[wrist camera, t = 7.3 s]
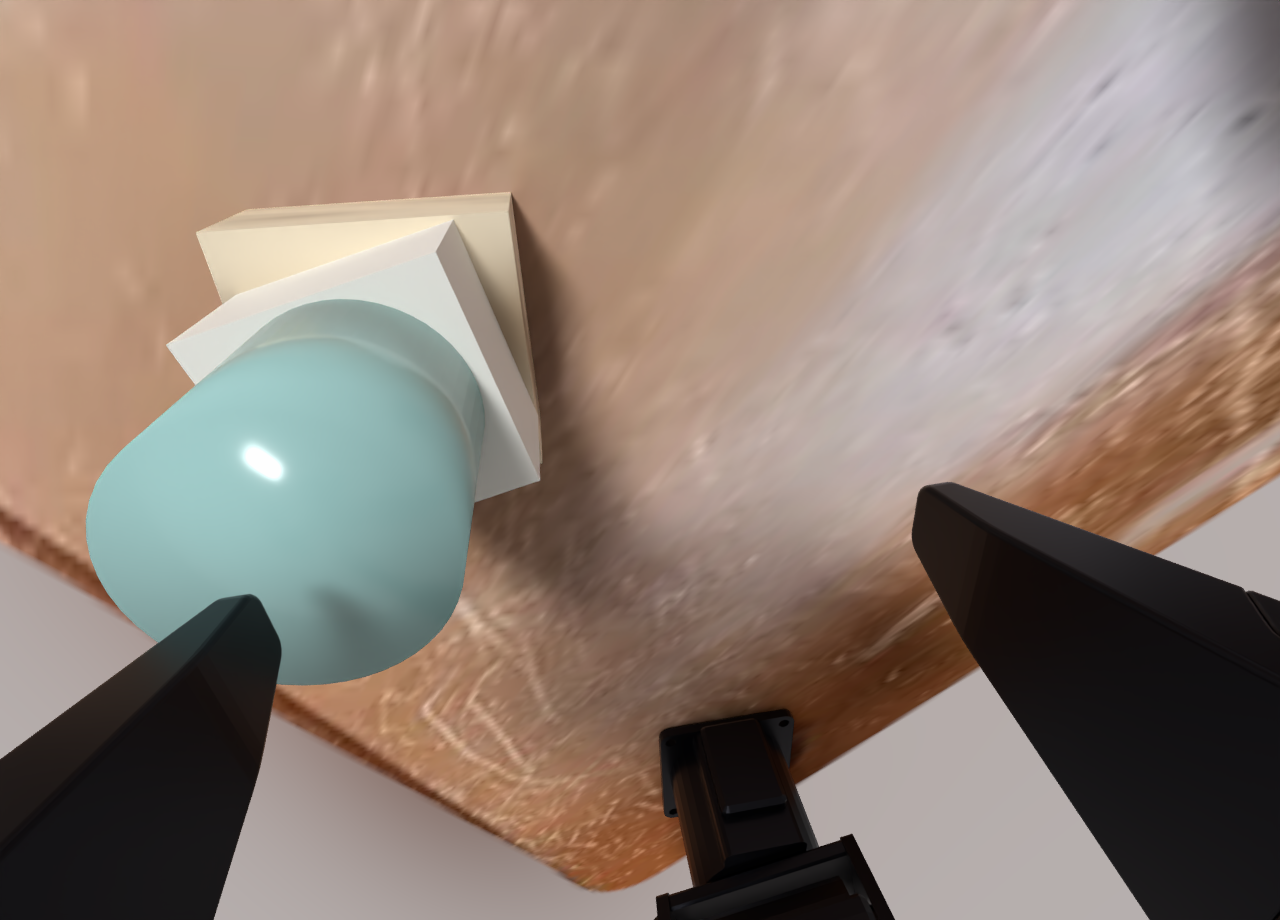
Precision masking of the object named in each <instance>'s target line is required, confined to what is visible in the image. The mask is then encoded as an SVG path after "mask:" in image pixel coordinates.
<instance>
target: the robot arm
mask: <svg viewBox="0 0 1280 920" xmlns="http://www.w3.org/2000/svg"><path fill="white" fill-rule="evenodd" d="M912 542H913V546H914V549H915V551H916V553H917V555H918V557H919V559H920V561H921V563H922V565H923V567H924V569H925V570H926V572H927V574H928V576H929V578H930V580H931V582H932V584H933V586H934V588H935V589H936V591H937V593H938V595H939V597H940V599H941V601H942V603H943V605H944V607H945V609H946V610H947V612H948V614H949V616H950V618H951V620H952V622H953V624H954V626H955V627H956V629H957V631H958V633H959V634H960V636H961V638H962V640H963V641H964V643H965V644H966V646H967V648H968V649H969V651H970V652H971V654H972V655H973V657H974V658H975V660H976V661H977V663H978V664H979V666H980V667H981V669H982V670H983V672H984V673H985V675H986V676H987V678H988V679H989V681H990V682H991V683H992V685H993V687H994V688H995V689H996V691H997V693H998V694H999V696H1000V697H1001V699H1002V700H1003V702H1004V703H1005V705H1006V706H1007V707H1008V709H1009V710H1010V712H1011V713H1012V715H1013V716H1014V718H1015V720H1016V721H1017V722H1018V724H1019V725H1020V727H1021V728H1022V730H1023V731H1024V733H1025V734H1026V736H1027V737H1028V739H1029V740H1030V742H1031V743H1032V745H1033V746H1034V748H1035V749H1036V751H1037V752H1038V754H1039V755H1040V757H1041V758H1042V760H1043V761H1044V763H1045V764H1046V766H1047V767H1048V769H1049V770H1050V772H1051V773H1052V775H1053V776H1054V778H1055V779H1056V781H1057V782H1058V784H1059V785H1060V787H1061V788H1062V790H1063V791H1064V793H1065V794H1066V796H1067V797H1068V799H1069V800H1070V802H1071V803H1072V805H1073V806H1074V808H1075V809H1076V811H1077V812H1078V814H1079V815H1080V816H1081V818H1082V819H1083V821H1084V822H1085V824H1086V825H1087V827H1088V828H1089V830H1090V831H1091V833H1092V834H1093V836H1094V837H1095V839H1096V840H1097V842H1098V843H1099V845H1100V846H1101V848H1102V849H1103V851H1104V852H1105V854H1106V855H1107V857H1108V858H1109V860H1110V861H1111V863H1112V864H1113V866H1114V867H1115V869H1116V870H1117V872H1118V873H1119V875H1120V876H1121V878H1122V879H1123V881H1124V882H1125V883H1126V885H1127V887H1128V888H1129V890H1130V891H1131V893H1132V894H1133V895H1134V897H1135V899H1136V900H1137V902H1138V903H1139V904H1140V906H1141V907H1142V909H1143V911H1144V912H1145V914H1146V915H1147V917H1148V918H1149V919H1150V920H1280V601H1278V600H1276V599H1273V598H1270V597H1267V596H1265V595H1262V594H1259V593H1256V592H1254V591H1247V592H1245V590H1244V589H1243V588H1242V587H1239V586H1237V585H1234V584H1231V583H1228V582H1226V581H1223V580H1220V579H1217V578H1214V577H1212V576H1209V575H1206V574H1204V573H1201V572H1198V571H1195V570H1192V569H1190V568H1187V567H1184V566H1181V565H1179V564H1176V563H1173V562H1171V561H1168V560H1165V559H1162V558H1160V557H1157V556H1154V555H1151V554H1149V553H1146V552H1143V551H1140V550H1138V549H1135V548H1132V547H1129V546H1127V545H1124V544H1121V543H1118V542H1116V541H1113V540H1110V539H1107V538H1105V537H1102V536H1099V535H1096V534H1094V533H1091V532H1088V531H1085V530H1083V529H1080V528H1077V527H1074V526H1072V525H1069V524H1066V523H1063V522H1061V521H1058V520H1055V519H1052V518H1050V517H1047V516H1044V515H1041V514H1039V513H1036V512H1033V511H1030V510H1028V509H1025V508H1022V507H1019V506H1017V505H1014V504H1011V503H1008V502H1006V501H1003V500H1000V499H997V498H995V497H992V496H989V495H986V494H984V493H981V492H978V491H975V490H973V489H970V488H967V487H964V486H962V485H959V484H956V483H953V482H945V483H939V484H932V485H926V486H924V487H923V488H922V489H921V490H920V491H919V493H918V497H917V503H916V509H915V515H914V521H913V528H912ZM281 657H282V648H281V642H280V639H279V636H278V634H277V632H276V630H275V628H274V626H273V624H272V622H271V620H270V618H269V616H268V614H267V612H266V610H265V608H264V606H263V604H262V603H261V601H260V600H259V598H258V597H256V596H255V595H252V594H244V595H237V596H231V597H225V598H221V599H218V600H216V601H214V602H213V603H212V604H210V605H209V606H208V607H206V608H205V609H204V610H202V611H201V612H199V613H198V614H197V615H195V616H194V617H193V618H191V619H190V620H189V621H187V622H186V623H185V624H183V625H182V626H180V627H179V628H178V629H176V630H175V631H174V632H172V633H171V634H170V635H168V636H167V637H166V638H164V639H163V640H161V641H160V642H159V643H157V644H156V645H155V646H153V647H152V648H151V649H149V650H148V651H147V652H145V653H144V654H143V655H141V656H140V657H138V658H137V659H136V660H134V661H133V662H132V663H130V664H129V665H128V666H126V667H125V668H124V669H122V670H121V671H119V672H118V673H117V674H115V675H114V676H113V677H111V678H110V679H109V680H108V681H106V682H105V683H103V684H102V685H100V686H99V687H98V688H96V689H95V690H94V691H92V692H91V693H90V694H88V695H87V696H85V697H84V698H83V699H81V700H80V701H79V702H77V703H76V704H75V705H73V706H72V707H71V708H69V709H68V710H66V711H65V712H64V713H62V714H61V715H60V716H58V717H57V718H56V719H54V720H53V721H52V722H50V723H49V724H48V725H46V726H45V727H43V728H42V729H41V730H39V731H38V732H37V733H35V734H34V735H33V736H31V737H30V738H28V739H27V740H26V741H24V742H23V743H22V744H20V745H19V746H18V747H16V748H15V749H14V750H12V751H11V752H9V753H8V754H7V755H6V756H4V757H3V758H1V759H0V920H214V917H215V913H216V910H217V907H218V904H219V900H220V897H221V894H222V891H223V887H224V884H225V881H226V878H227V874H228V871H229V868H230V865H231V862H232V858H233V855H234V852H235V848H236V845H237V842H238V839H239V836H240V832H241V829H242V826H243V823H244V819H245V816H246V813H247V810H248V806H249V803H250V800H251V797H252V794H253V790H254V787H255V783H256V780H257V776H258V773H259V769H260V765H261V761H262V756H263V751H264V747H265V742H266V736H267V731H268V726H269V721H270V715H271V710H272V705H273V700H274V694H275V689H276V684H277V679H278V673H279V668H280V663H281ZM793 727H794V719H793V717H792V714H791V712H790V711H789V710H786V709H782V710H776V711H770V712H764V713H758V714H753V715H747V716H741V717H735V718H729V719H723V720H717V721H711V722H706V723H700V724H694V725H688V726H682V727H676V728H670V729H666V730H664V731H662V732H661V733H660V735H659V748H660V765H661V782H662V799H663V809H664V814H665V816H667V817H670V818H672V817H678V818H679V822H680V827H681V832H682V836H683V841H684V846H685V851H686V855H687V860H688V865H689V869H690V874H691V879H692V884H693V888H690V889H686V890H684V891H680V892H677V893H674V894H671V895H669V893H666V894H663V895H659V896H657V897H656V904H657V915H658V916H657V917H656V918H655V919H654V920H895V919H894V917H893V915H892V913H891V911H890V909H889V907H888V905H887V903H886V901H885V899H884V896H883V895H882V892H881V891H880V888H879V887H878V884H877V883H876V881H875V878H874V876H873V874H872V872H871V870H870V868H869V867H868V864H867V862H866V860H865V859H864V856H863V854H862V852H861V850H860V848H859V846H858V844H857V842H856V840H855V838H854V836H853V834H850V835H847V836H844V837H840V840H839V841H836V842H833V843H830V844H827V845H824V846H820V847H819V846H818V843H817V840H816V838H815V835H814V833H813V830H812V828H811V825H810V822H809V820H808V817H807V815H806V812H805V809H804V807H803V804H802V802H801V799H800V796H799V794H798V791H797V789H796V786H795V784H794V781H793V778H792V776H791V773H790V771H789V766H790V756H791V746H792V737H793Z"/></svg>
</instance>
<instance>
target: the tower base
mask: <svg viewBox="0 0 1280 920" xmlns="http://www.w3.org/2000/svg"><path fill="white" fill-rule="evenodd" d="M450 220H454V222H455V224H456V227H457V229H458V231H459V234H460V236H461V238H462V241H463V243H464V245H465V248H466V250H467V252H468V255H469V257H470V259H471V261H472V264H473V266H474V268H475V271H476V273H477V275H478V278H479V280H480V282H481V285H482V287H483V289H484V292H485V294H486V296H487V298H488V301H489V303H490V305H491V308H492V310H493V312H494V315H495V317H496V319H497V322H498V324H499V326H500V329H501V331H502V333H503V336H504V338H505V340H506V343H507V345H508V347H509V349H510V352H511V354H512V356H513V359H514V361H515V363H516V366H517V368H518V370H519V373H520V375H521V377H522V380H523V382H524V384H525V387H526V389H527V391H528V393H529V396H530V398H531V400H532V403H533V405H534V407H535V410H536V412H537V414H538V431H539V461H540V464H542V440H541V417H540V408H539V401H538V393H537V386H536V378H535V371H534V363H533V356H532V348H531V340H530V333H529V325H528V318H527V310H526V303H525V295H524V287H523V280H522V272H521V265H520V257H519V250H518V242H517V234H516V227H515V219H514V212H513V204H512V197H511V192H504V193H489V194H474V195H458V196H443V197H428V198H413V199H397V200H382V201H367V202H351V203H336V204H321V205H306V206H290V207H275V208H260V209H247V210H245V211H243V212H240V213H238V214H236V215H234V216H231V217H229V218H227V219H225V220H222V221H220V222H218V223H216V224H214V225H211V226H209V227H207V228H205V229H202V230H200V231H198V232H196V234H197V237H198V240H199V242H200V245H201V248H202V250H203V253H204V256H205V258H206V261H207V264H208V267H209V269H210V272H211V275H212V277H213V280H214V283H215V285H216V288H217V291H218V293H219V296H220V299H221V301H222V304H224V303H225V302H227V301H228V300H229V299H231V298H232V297H234V296H235V295H237V294H239V293H242V292H245V291H248V290H251V289H254V288H257V287H260V286H263V285H265V284H268V283H271V282H274V281H277V280H280V279H283V278H286V277H289V276H291V275H294V274H297V273H300V272H303V271H306V270H309V269H312V268H315V267H317V266H320V265H323V264H326V263H329V262H332V261H335V260H338V259H340V258H343V257H346V256H349V255H352V254H355V253H358V252H361V251H364V250H366V249H369V248H372V247H375V246H378V245H381V244H384V243H387V242H390V241H392V240H395V239H398V238H401V237H404V236H407V235H410V234H413V233H416V232H418V231H421V230H424V229H427V228H430V227H433V226H436V225H439V224H442V223H444V222H447V221H450Z"/></svg>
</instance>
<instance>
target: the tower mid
mask: <svg viewBox="0 0 1280 920" xmlns="http://www.w3.org/2000/svg"><path fill="white" fill-rule="evenodd" d="M333 299H352V300H362V301H368V302H374V303H378V304H382V305H385V306H389V307H392V308H395V309H397V310H400V311H402V312H405V313H407V314H409V315H411V316H413V317H415V318H417V319H418V320H420V321H422V322H424V323H426V324H427V325H428V326H430V327H431V328H432V329H434V330H435V331H437V332H438V333H439V334H440V335H442V336H443V337H444V338H445V339H446V340H447V341H448V342H449V343H450V344H451V345H452V346H453V347H454V348H455V349H456V350H457V352H458V353H459V354H460V355H461V356H462V357H463V359H464V360H465V362H466V363H467V365H468V367H469V368H470V370H471V371H472V373H473V375H474V378H475V380H476V382H477V384H478V387H479V390H480V393H481V396H482V400H483V405H484V411H485V429H484V437H483V444H482V451H481V458H480V466H479V473H478V480H477V487H476V494H475V502H478V501H481V500H484V499H487V498H490V497H493V496H496V495H499V494H502V493H504V492H507V491H510V490H513V489H516V488H519V487H522V486H525V485H528V484H531V483H534V482H537V481H540V461H539V431H538V414H537V412H536V410H535V407H534V405H533V403H532V400H531V398H530V396H529V393H528V391H527V389H526V387H525V384H524V382H523V380H522V377H521V375H520V373H519V370H518V368H517V366H516V363H515V361H514V359H513V356H512V354H511V352H510V349H509V347H508V345H507V343H506V340H505V338H504V336H503V333H502V331H501V329H500V326H499V324H498V322H497V319H496V317H495V315H494V312H493V310H492V308H491V305H490V303H489V301H488V298H487V296H486V294H485V292H484V289H483V287H482V285H481V282H480V280H479V278H478V275H477V273H476V271H475V268H474V266H473V264H472V261H471V259H470V257H469V255H468V252H467V250H466V248H465V245H464V243H463V241H462V238H461V236H460V234H459V231H458V229H457V227H456V224H455V222H454V220H450V221H447V222H444V223H442V224H439V225H436V226H433V227H430V228H427V229H424V230H421V231H418V232H416V233H413V234H410V235H407V236H404V237H401V238H398V239H395V240H392V241H390V242H387V243H384V244H381V245H378V246H375V247H372V248H369V249H366V250H364V251H361V252H358V253H355V254H352V255H349V256H346V257H343V258H340V259H338V260H335V261H332V262H329V263H326V264H323V265H320V266H317V267H315V268H312V269H309V270H306V271H303V272H300V273H297V274H294V275H291V276H289V277H286V278H283V279H280V280H277V281H274V282H271V283H268V284H265V285H263V286H260V287H257V288H254V289H251V290H248V291H245V292H242V293H239V294H237V295H235V296H234V297H232V298H231V299H229V300H228V301H227V302H225V303H224V304H222V305H221V306H220V307H218V308H217V309H215V310H214V311H213V312H211V313H210V314H208V315H207V316H206V317H204V318H203V319H202V320H200V321H199V322H197V323H196V324H195V325H193V326H192V327H190V328H189V329H188V330H186V331H185V332H183V333H182V334H181V335H179V336H178V337H177V338H175V339H174V340H172V341H171V342H170V343H168V344H167V345H166V346H167V347H168V348H169V350H170V351H171V353H172V354H173V355H174V357H175V358H176V359H177V361H178V362H179V363H180V365H181V366H182V368H183V369H184V370H185V372H186V373H187V374H188V376H189V377H190V378H191V380H192V381H193V382H194V384H195V385H197V384H198V383H199V382H200V381H201V380H202V379H203V378H205V377H206V376H207V375H208V374H209V373H210V372H211V371H213V370H214V369H215V368H216V367H217V366H218V365H219V364H221V363H222V362H223V361H224V360H225V359H226V358H227V357H229V356H230V355H231V354H232V353H233V352H234V351H235V350H237V349H238V348H239V347H240V346H241V345H242V344H243V343H245V342H246V341H247V340H248V339H249V338H250V337H251V336H253V335H254V334H255V333H256V332H257V331H258V330H259V329H261V328H262V327H263V326H264V325H266V324H267V323H268V322H270V321H271V320H272V319H274V318H275V317H277V316H279V315H280V314H282V313H284V312H286V311H288V310H290V309H293V308H295V307H298V306H301V305H304V304H307V303H312V302H317V301H322V300H333ZM475 502H474V503H475Z"/></svg>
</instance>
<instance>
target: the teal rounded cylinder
mask: <svg viewBox="0 0 1280 920" xmlns="http://www.w3.org/2000/svg"><path fill="white" fill-rule="evenodd" d="M484 429H485V411H484V405H483V400H482V396H481V393H480V390H479V387H478V384H477V382H476V380H475V378H474V375H473V373H472V371H471V370H470V368H469V367H468V365H467V363H466V362H465V360H464V359H463V357H462V356H461V355H460V354H459V353H458V352H457V350H456V349H455V348H454V347H453V346H452V345H451V344H450V343H449V342H448V341H447V340H446V339H445V338H444V337H443V336H442V335H440V334H439V333H438V332H437V331H435V330H434V329H432V328H431V327H430V326H428V325H427V324H426V323H424V322H422V321H420V320H418V319H417V318H415V317H413V316H411V315H409V314H407V313H405V312H402V311H400V310H397V309H395V308H392V307H389V306H385V305H382V304H378V303H374V302H368V301H362V300H352V299H333V300H322V301H317V302H312V303H307V304H304V305H301V306H298V307H295V308H293V309H290V310H288V311H286V312H284V313H282V314H280V315H279V316H277V317H275V318H274V319H272V320H271V321H270V322H268V323H267V324H266V325H264V326H263V327H262V328H261V329H259V330H258V331H257V332H256V333H255V334H254V335H253V336H251V337H250V338H249V339H248V340H247V341H246V342H245V343H243V344H242V345H241V346H240V347H239V348H238V349H237V350H235V351H234V352H233V353H232V354H231V355H230V356H229V357H227V358H226V359H225V360H224V361H223V362H222V363H221V364H219V365H218V366H217V367H216V368H215V369H214V370H213V371H211V372H210V373H209V374H208V375H207V376H206V377H205V378H203V379H202V380H201V381H200V382H199V383H198V384H197V385H195V386H194V387H193V388H192V389H191V390H190V391H189V392H187V393H186V394H185V395H184V396H183V397H182V398H181V399H179V400H178V401H177V402H176V403H175V404H174V405H173V406H171V407H170V408H169V409H168V410H167V411H166V412H165V413H163V414H162V415H161V416H160V417H159V418H158V419H156V420H155V421H154V422H153V423H152V424H151V425H150V426H148V427H147V428H146V429H145V430H144V431H143V432H142V433H140V434H139V435H138V436H137V437H136V438H135V439H134V440H132V441H131V442H130V443H129V444H128V445H127V446H126V447H124V448H123V449H122V450H121V451H120V452H119V453H118V455H117V456H116V457H115V458H114V459H113V460H112V461H111V462H110V463H109V464H108V465H107V467H106V468H105V470H104V471H103V473H102V474H101V476H100V478H99V479H98V481H97V482H96V485H95V487H94V490H93V492H92V495H91V497H90V500H89V505H88V511H87V516H86V539H87V544H88V549H89V554H90V558H91V561H92V563H93V566H94V568H95V571H96V573H97V576H98V578H99V579H100V581H101V583H102V585H103V586H104V588H105V590H106V591H107V593H108V595H109V596H110V597H111V598H112V600H113V601H114V602H115V603H116V605H117V606H118V607H119V609H120V610H121V611H122V612H123V613H124V614H125V615H126V616H127V617H128V618H129V619H130V620H131V621H132V622H133V623H134V624H135V625H136V626H137V627H139V628H140V629H141V630H142V631H144V632H145V633H146V634H147V635H149V636H150V637H151V638H153V639H154V640H155V641H157V642H158V643H159V642H160V641H161V640H163V639H164V638H166V637H167V636H168V635H170V634H171V633H172V632H174V631H175V630H176V629H178V628H179V627H180V626H182V625H183V624H185V623H186V622H187V621H189V620H190V619H191V618H193V617H194V616H195V615H197V614H198V613H199V612H201V611H202V610H204V609H205V608H206V607H208V606H209V605H210V604H212V603H213V602H214V601H216V600H218V599H221V598H225V597H231V596H237V595H244V594H252V595H255V596H256V597H258V598H259V600H260V601H261V603H262V604H263V606H264V608H265V610H266V612H267V614H268V616H269V618H270V620H271V622H272V624H273V626H274V628H275V630H276V632H277V634H278V636H279V639H280V642H281V648H282V657H281V663H280V668H279V673H278V679H277V684H281V685H321V684H330V683H338V682H345V681H349V680H354V679H358V678H362V677H366V676H369V675H372V674H375V673H378V672H381V671H383V670H386V669H388V668H390V667H392V666H394V665H396V664H399V663H401V662H402V661H404V660H405V659H407V658H409V657H410V656H412V655H414V654H415V653H417V652H418V651H419V650H420V649H422V648H423V647H424V646H425V645H427V644H428V643H429V642H430V641H431V640H432V639H433V638H434V637H435V636H436V635H437V634H438V633H439V632H440V631H441V630H442V628H443V627H444V625H445V624H446V623H447V621H448V620H449V618H450V617H451V615H452V613H453V611H454V609H455V607H456V605H457V603H458V600H459V597H460V594H461V590H462V587H463V581H464V574H465V567H466V559H467V552H468V545H469V538H470V531H471V523H472V516H473V509H474V502H475V494H476V487H477V480H478V473H479V466H480V458H481V451H482V444H483V437H484Z"/></svg>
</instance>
